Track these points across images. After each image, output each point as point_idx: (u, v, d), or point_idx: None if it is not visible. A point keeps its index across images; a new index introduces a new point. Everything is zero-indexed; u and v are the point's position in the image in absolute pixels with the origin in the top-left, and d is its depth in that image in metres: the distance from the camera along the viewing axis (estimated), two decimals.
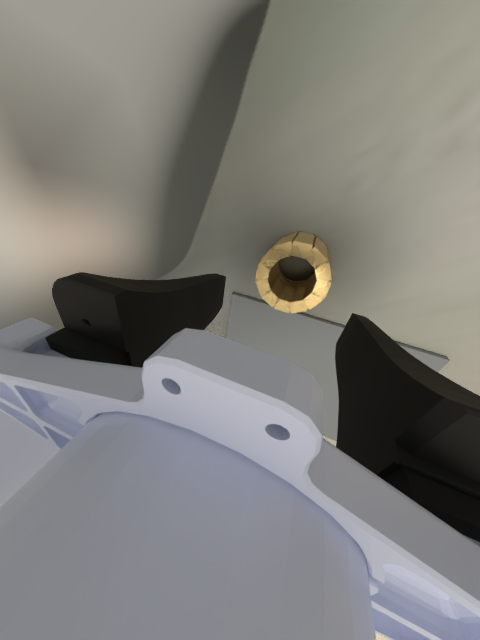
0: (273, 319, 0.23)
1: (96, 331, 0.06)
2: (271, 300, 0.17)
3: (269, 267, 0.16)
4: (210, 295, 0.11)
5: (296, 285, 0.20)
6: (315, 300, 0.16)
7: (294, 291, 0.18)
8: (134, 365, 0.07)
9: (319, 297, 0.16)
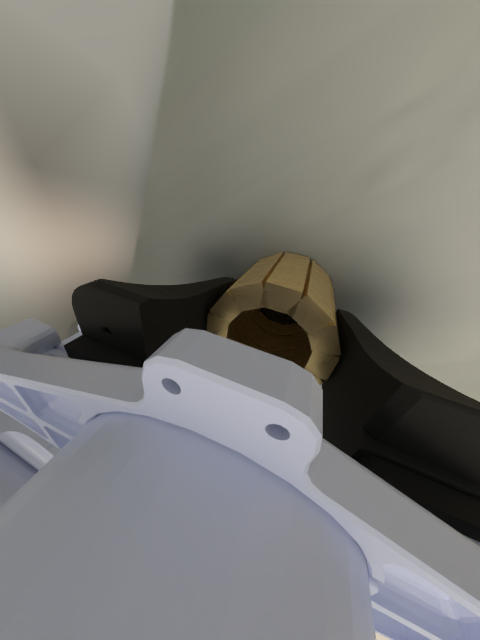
0: None
1: (116, 339, 0.06)
2: None
3: (227, 322, 0.09)
4: None
5: (282, 332, 0.13)
6: None
7: (277, 348, 0.11)
8: None
9: (317, 378, 0.09)
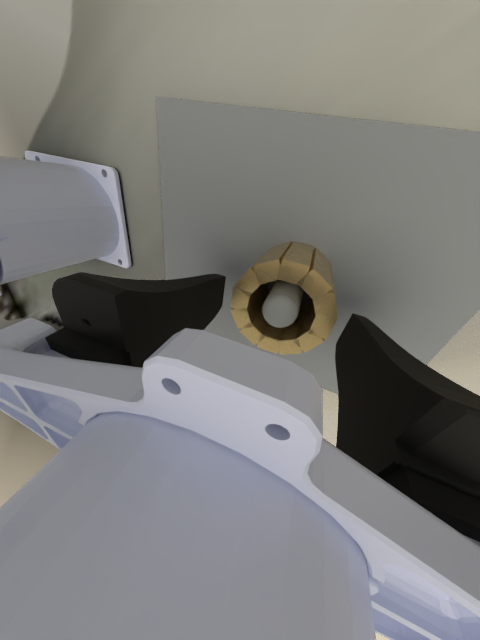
0: (234, 141, 0.12)
1: (96, 331, 0.06)
2: (253, 336, 0.12)
3: (248, 293, 0.11)
4: (210, 295, 0.11)
5: None
6: (313, 341, 0.11)
7: None
8: (134, 365, 0.07)
9: (319, 337, 0.11)
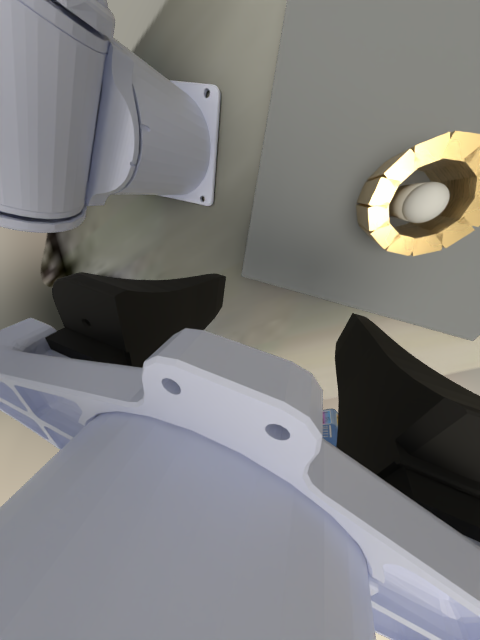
0: (370, 36, 0.12)
1: (96, 331, 0.06)
2: (386, 238, 0.12)
3: (397, 183, 0.11)
4: (210, 295, 0.11)
5: (397, 229, 0.15)
6: (461, 231, 0.11)
7: (404, 232, 0.14)
8: (134, 365, 0.07)
9: (470, 225, 0.11)
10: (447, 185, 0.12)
